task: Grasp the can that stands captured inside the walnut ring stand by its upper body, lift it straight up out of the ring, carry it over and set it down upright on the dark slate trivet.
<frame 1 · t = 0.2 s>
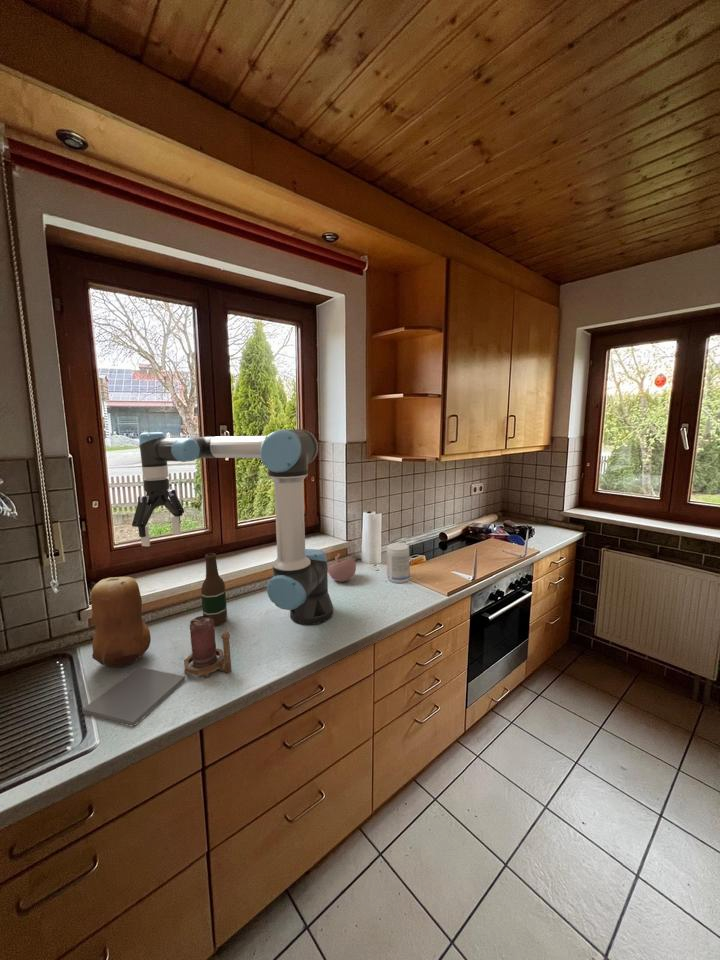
hand: (162, 539, 130), 28 cm above the countertop, fingers open, 13 cm apart
butternut squash: (124, 662, 108), on the countertop
can: (205, 667, 105), resting in ring stand
trivet: (137, 696, 94), on the countertop
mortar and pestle: (342, 580, 162), on the countertop
ring stand: (205, 667, 105), on the countertop
supplement tub: (398, 579, 162), on the countertop
beer bottle: (215, 622, 130), on the countertop
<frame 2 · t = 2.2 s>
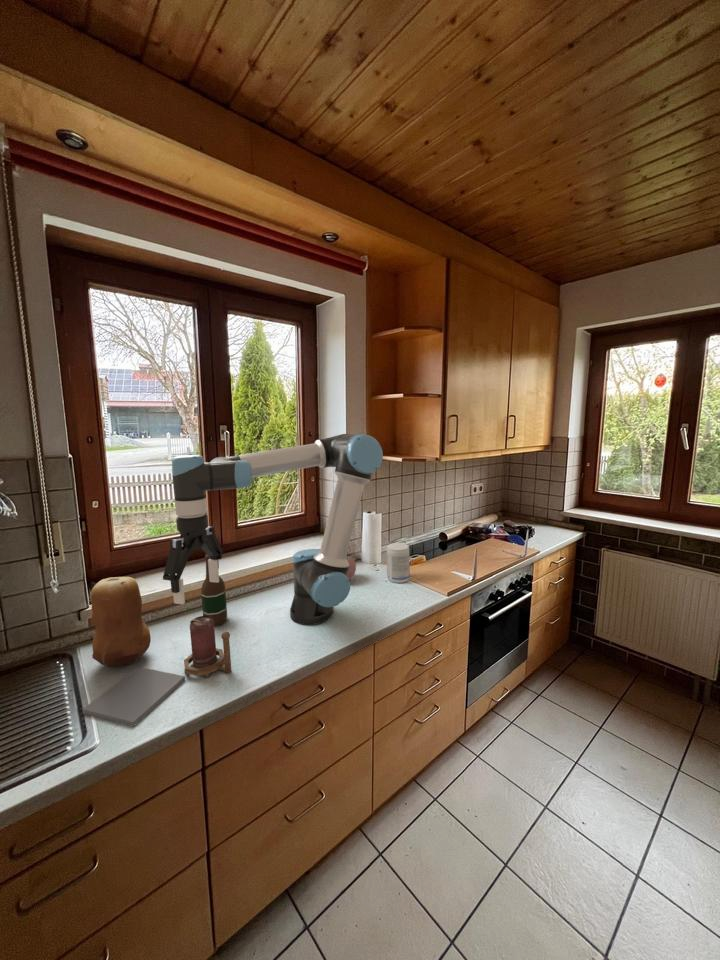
hand: (198, 591, 102), 22 cm above the countertop, fingers open, 13 cm apart
nothing on the countertop moved.
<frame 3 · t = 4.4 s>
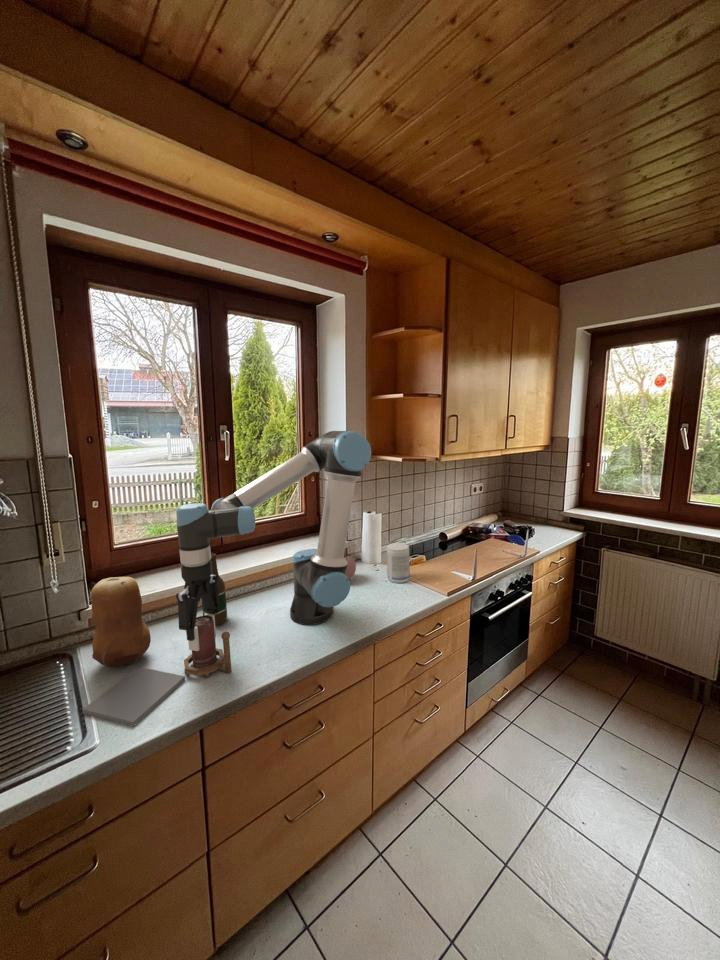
hand: (202, 642, 104), 7 cm above the countertop, fingers closed on can, 6 cm apart
can: (205, 667, 105), resting in ring stand, touching gripper
everything else where it was.
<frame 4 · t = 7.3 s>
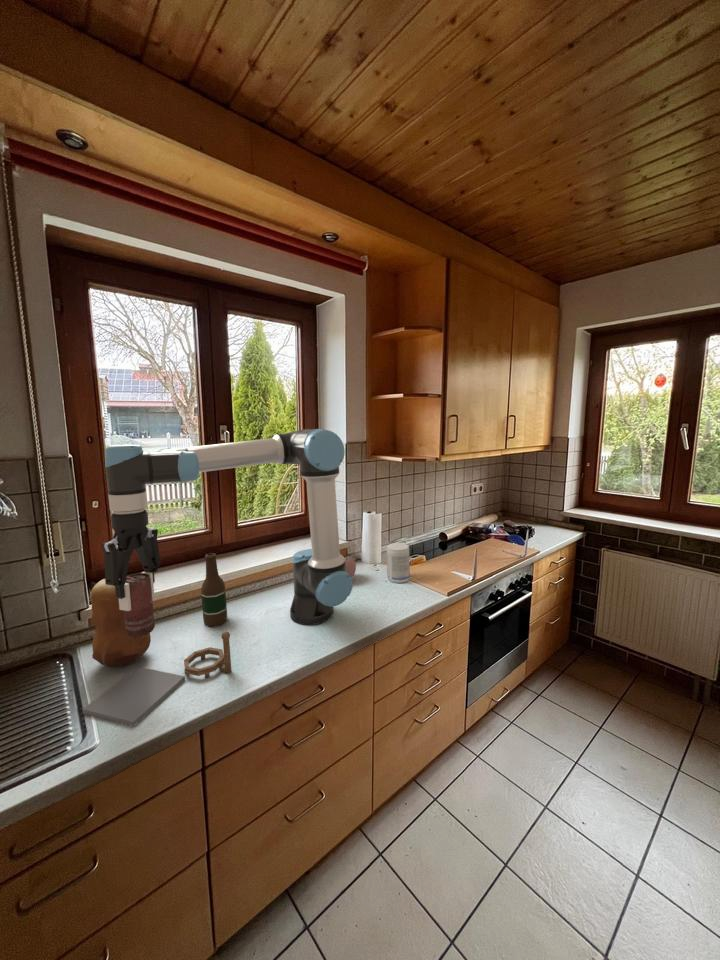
hand: (137, 603, 92), 24 cm above the countertop, fingers closed on can, 6 cm apart
can: (140, 632, 93), point 16 cm above the countertop, touching gripper
everything else where it was.
when the fingers open (9 cm above the countertop, at t = 10.4 s): can stays where it is, resting on trivet.
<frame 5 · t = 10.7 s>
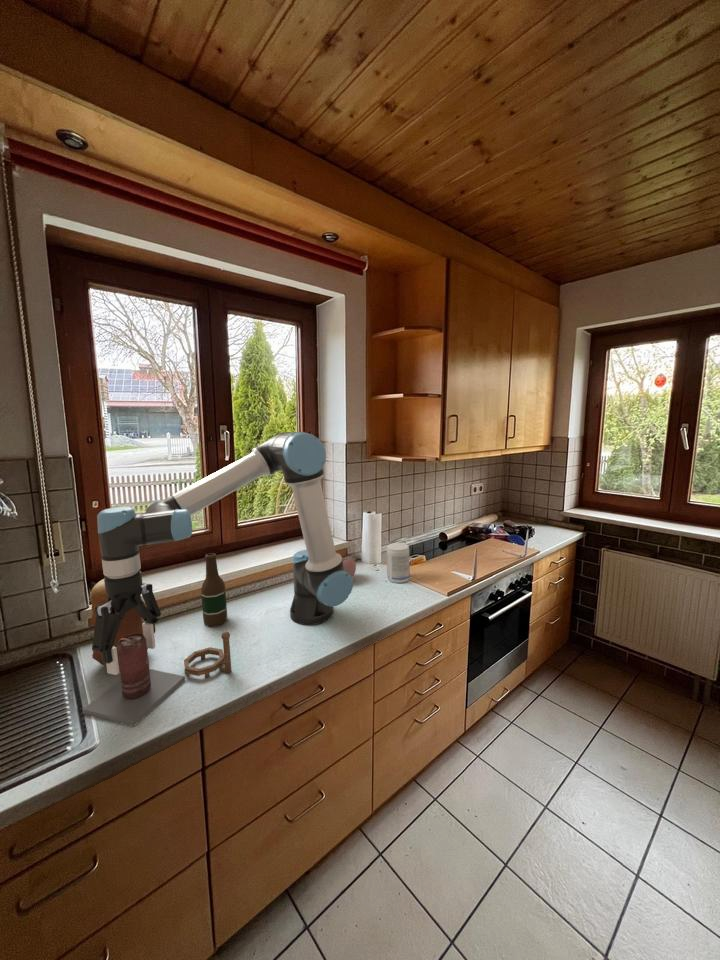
hand: (132, 659, 93), 10 cm above the countertop, fingers open, 10 cm apart
can: (136, 692, 94), point 1 cm above the countertop, touching trivet
everything else where it was.
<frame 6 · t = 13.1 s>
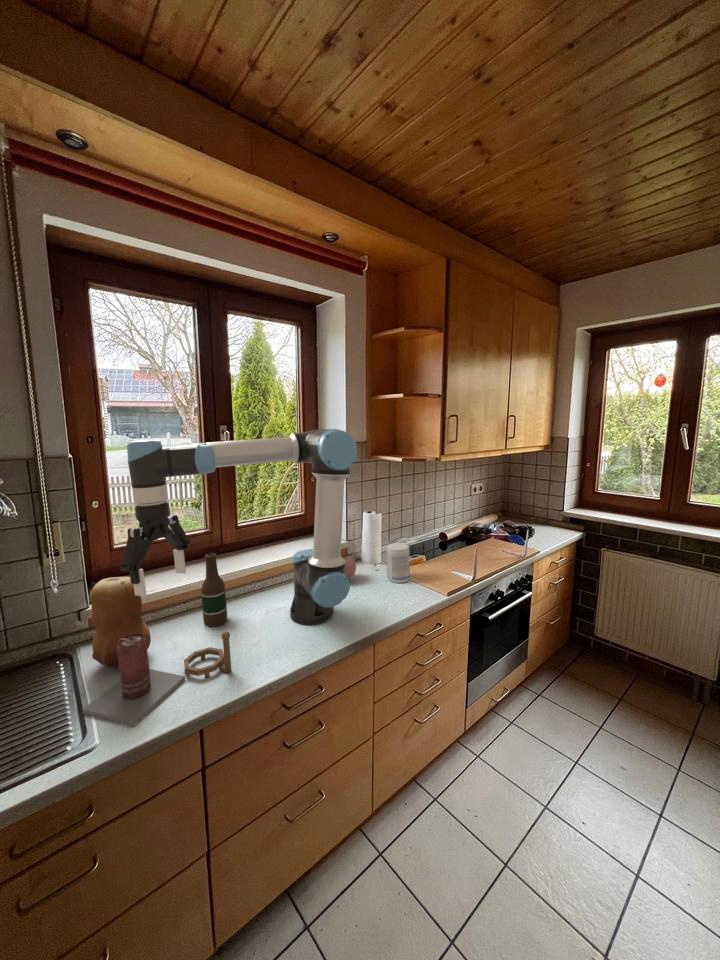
hand: (162, 583, 97), 26 cm above the countertop, fingers open, 13 cm apart
nothing on the countertop moved.
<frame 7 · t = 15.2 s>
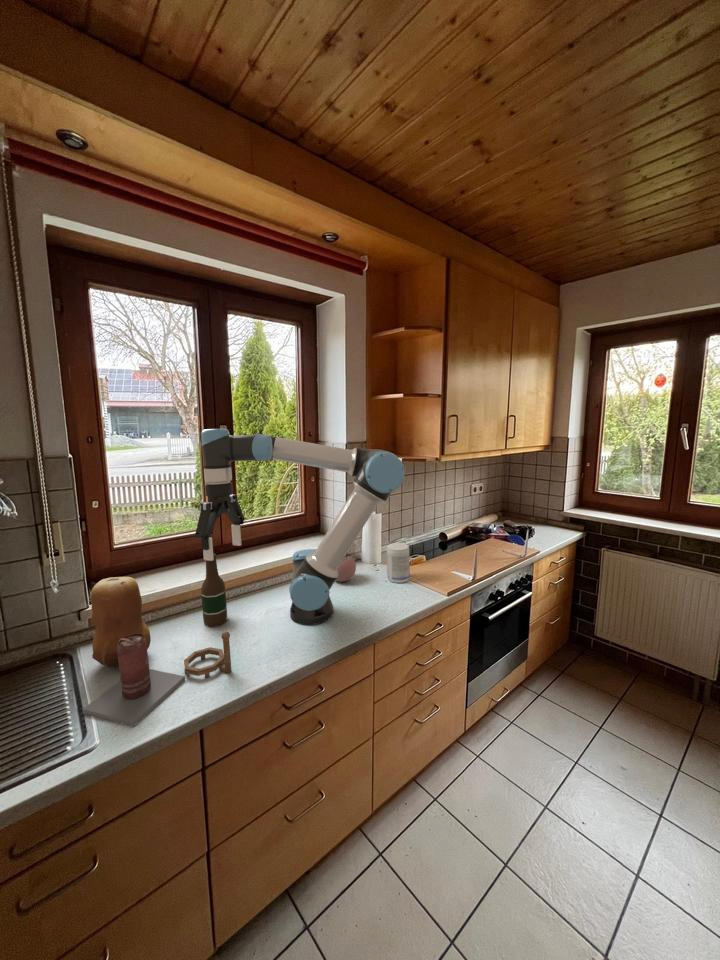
hand: (223, 552, 113), 29 cm above the countertop, fingers open, 13 cm apart
nothing on the countertop moved.
at the end: can inside the target area on the trivet (0.0 cm from its centre), point 1.0 cm above the trivet's base; can touching trivet; can tilted 0° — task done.
